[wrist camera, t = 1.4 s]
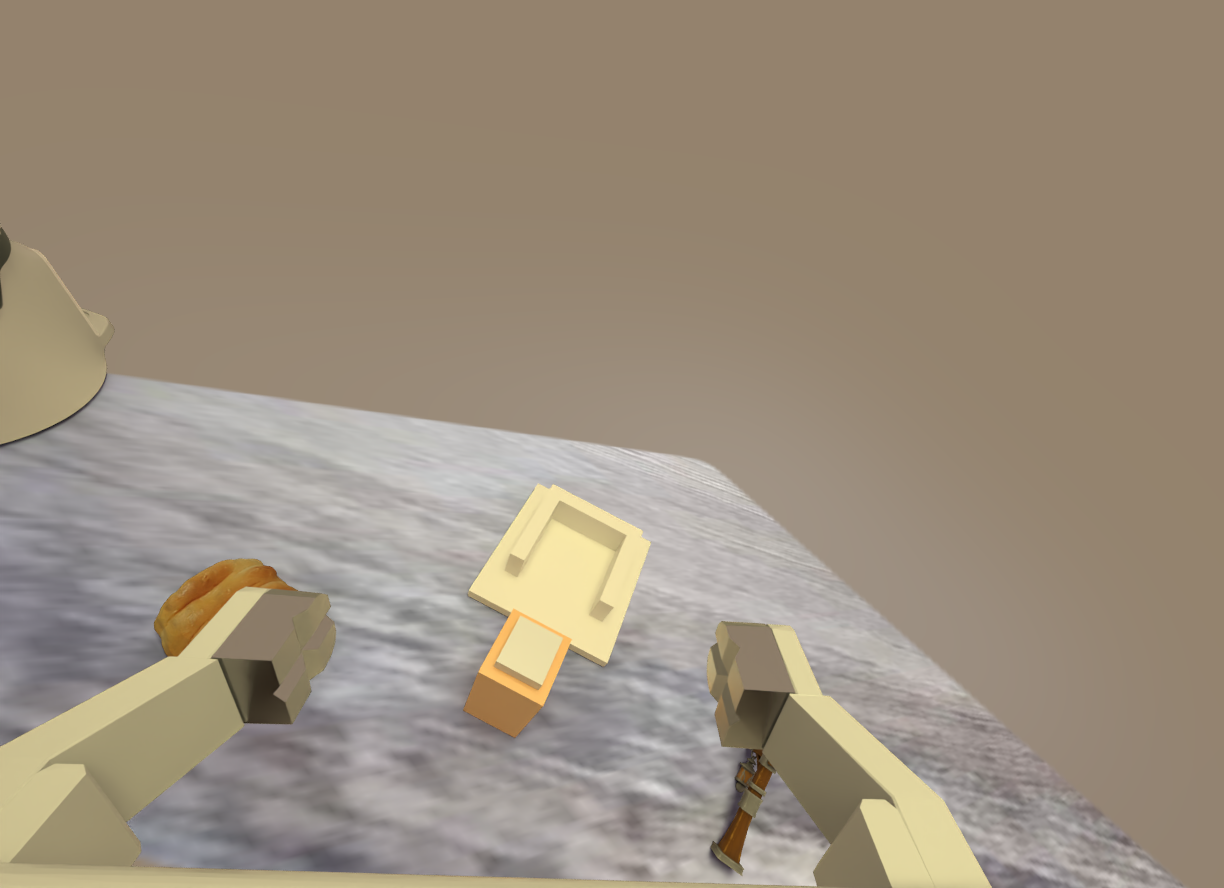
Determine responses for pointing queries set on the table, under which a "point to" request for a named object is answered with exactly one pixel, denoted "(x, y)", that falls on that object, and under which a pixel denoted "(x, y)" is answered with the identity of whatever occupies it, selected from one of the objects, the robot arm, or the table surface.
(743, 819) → the wooden post with brackets
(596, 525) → the holder
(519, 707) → the block
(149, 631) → the table surface
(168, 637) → the pastry
